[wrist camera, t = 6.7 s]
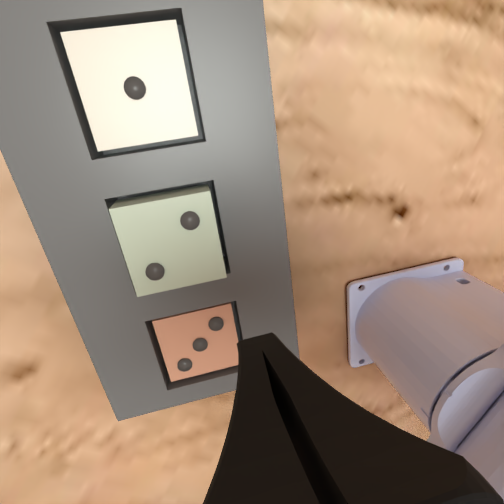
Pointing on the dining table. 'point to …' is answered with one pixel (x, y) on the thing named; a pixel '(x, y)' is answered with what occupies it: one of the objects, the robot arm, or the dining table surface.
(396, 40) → the dining table surface
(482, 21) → the dining table surface
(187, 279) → the tile two
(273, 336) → the robot arm
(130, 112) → the tile one
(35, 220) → the tile tray
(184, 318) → the tile three
